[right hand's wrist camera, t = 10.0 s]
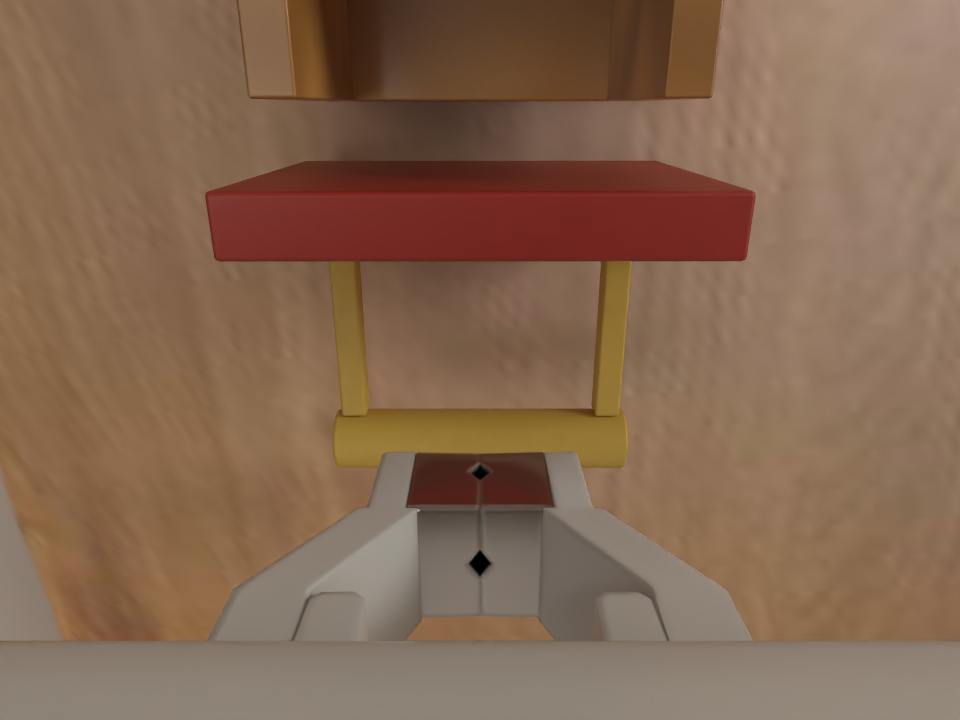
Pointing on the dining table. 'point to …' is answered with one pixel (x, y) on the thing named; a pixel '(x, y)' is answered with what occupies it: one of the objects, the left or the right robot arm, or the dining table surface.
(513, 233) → the drawer
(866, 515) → the dining table surface
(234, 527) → the dining table surface
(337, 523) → the right robot arm
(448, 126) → the dining table surface
